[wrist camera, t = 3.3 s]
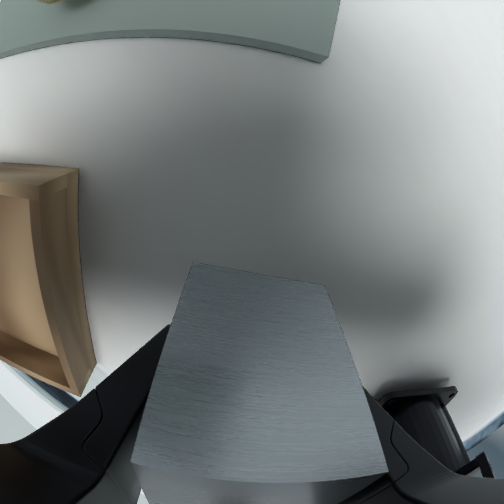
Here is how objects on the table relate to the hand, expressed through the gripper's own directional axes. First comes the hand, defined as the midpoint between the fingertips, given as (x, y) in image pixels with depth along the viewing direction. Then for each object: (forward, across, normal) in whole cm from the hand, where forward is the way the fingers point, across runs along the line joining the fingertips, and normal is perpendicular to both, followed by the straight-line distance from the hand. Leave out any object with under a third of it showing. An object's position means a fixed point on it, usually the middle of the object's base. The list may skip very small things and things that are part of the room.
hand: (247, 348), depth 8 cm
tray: (+3, +12, +2) cm, 13 cm away
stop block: (+1, 0, 0) cm, 1 cm away
